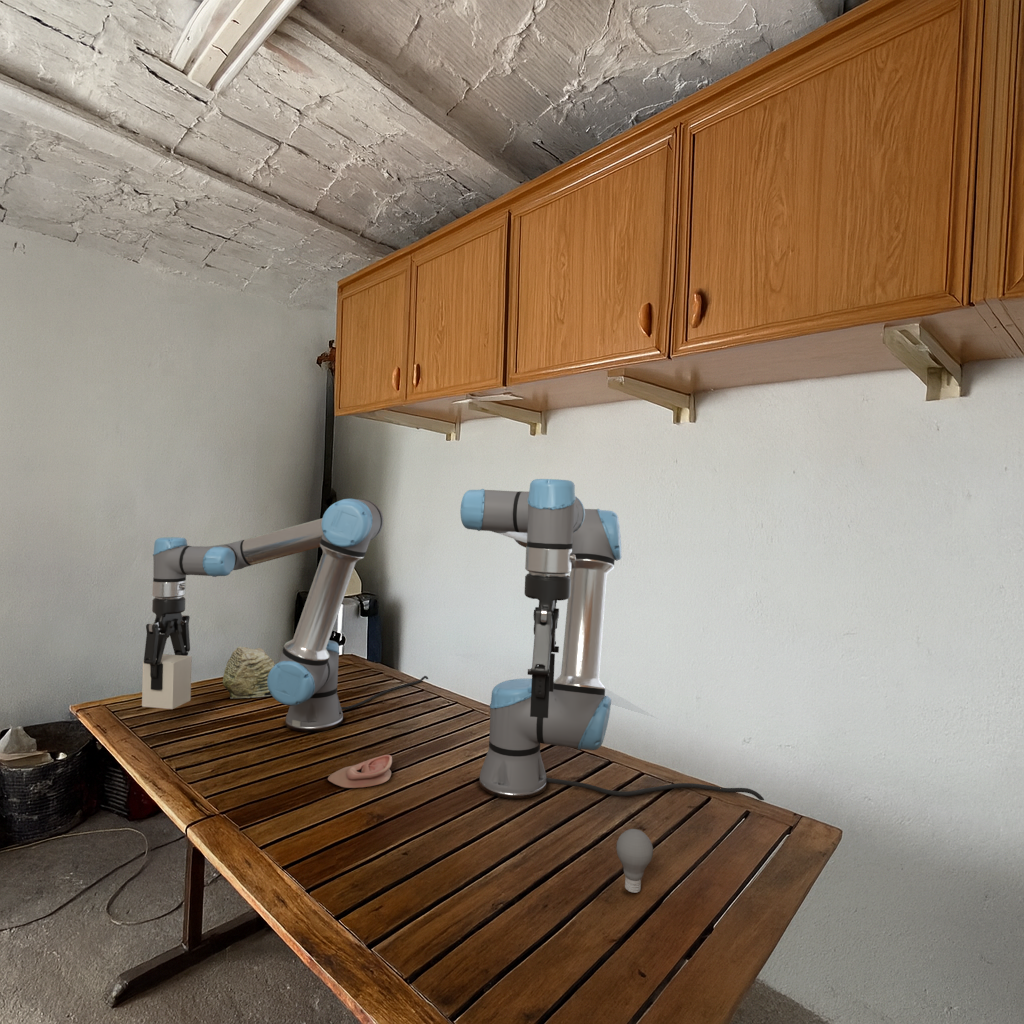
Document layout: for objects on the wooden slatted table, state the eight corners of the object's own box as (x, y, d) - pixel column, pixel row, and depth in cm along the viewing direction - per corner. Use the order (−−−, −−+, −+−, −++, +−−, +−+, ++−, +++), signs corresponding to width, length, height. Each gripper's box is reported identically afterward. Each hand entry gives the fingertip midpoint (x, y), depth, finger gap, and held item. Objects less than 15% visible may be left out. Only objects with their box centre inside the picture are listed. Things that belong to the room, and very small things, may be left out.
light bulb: (610, 879, 108) (613, 822, 108) (644, 879, 109) (647, 822, 109) (619, 902, 102) (622, 840, 102) (655, 901, 103) (658, 840, 103)
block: (141, 706, 162) (142, 660, 161) (161, 698, 169) (162, 653, 168) (172, 709, 160) (173, 662, 160) (190, 700, 168) (191, 656, 167)
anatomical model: (321, 766, 139) (345, 747, 150) (320, 784, 139) (344, 763, 150) (378, 774, 136) (398, 753, 147) (377, 792, 136) (397, 770, 148)
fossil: (218, 695, 195) (220, 647, 195) (278, 685, 208) (279, 640, 207) (228, 703, 189) (230, 653, 188) (289, 692, 201) (290, 645, 201)
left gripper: (155, 603, 154) (153, 697, 154) (206, 592, 173) (204, 675, 174) (127, 602, 155) (125, 695, 155) (181, 591, 175) (179, 673, 175)
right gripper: (568, 584, 91) (561, 731, 91) (573, 567, 115) (568, 683, 116) (516, 581, 91) (510, 727, 92) (532, 565, 116) (527, 679, 117)
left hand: (167, 684), depth 164 cm, fingers closed on block, 7 cm apart
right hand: (542, 703), depth 104 cm, fingers open, 13 cm apart
